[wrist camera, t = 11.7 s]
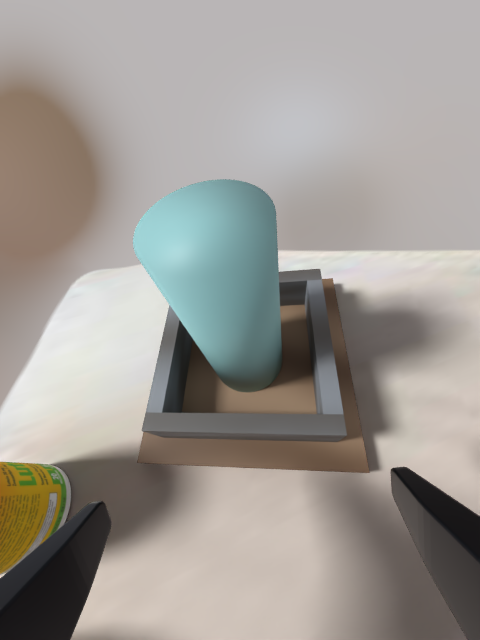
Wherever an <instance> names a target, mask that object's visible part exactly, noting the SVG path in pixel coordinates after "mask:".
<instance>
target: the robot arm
mask: <svg viewBox="0 0 480 640" xmlns="http://www.w3.org/2000/svg"><path fill="white" fill-rule="evenodd" d="M391 487H392V494H393V497H394V500H395V502H396V504H397V506H398V509H399V511H400V513H401V515H402V517H403V519H404V521H405V523H406V526H407V528H408V530H409V532H410V534H411V536H412V538H413V541H414V543H415V545H416V547H417V549H418V551H419V553H420V555H421V557H422V559H423V562H424V564H425V565H426V567H427V569H428V571H429V573H430V575H431V576H432V578H433V580H434V582H435V583H436V585H437V587H438V589H439V590H440V592H441V594H442V596H443V597H444V599H445V601H446V603H447V604H448V606H449V608H450V610H451V611H452V613H453V615H454V617H455V618H456V620H457V622H458V624H459V625H460V627H461V629H462V631H463V632H464V634H465V636H466V638H467V639H468V640H480V516H479V515H477V514H476V513H474V512H473V511H471V510H470V509H468V508H467V507H465V506H464V505H462V504H461V503H459V502H458V501H456V500H455V499H453V498H452V497H450V496H449V495H447V494H446V493H444V492H443V491H441V490H440V489H439V488H437V487H436V486H434V485H433V484H431V483H430V482H428V481H427V480H425V479H424V478H422V477H421V476H419V475H418V474H416V473H415V472H413V471H412V470H410V469H409V468H407V467H397V468H392V469H391ZM110 529H111V519H110V516H109V513H108V511H107V508H106V505H105V503H104V502H103V501H98V502H91V503H89V504H88V505H86V506H85V507H84V508H83V509H82V510H80V511H79V512H78V513H77V514H76V515H75V516H73V517H72V518H71V519H70V520H69V521H68V522H66V523H65V524H64V525H63V526H62V527H60V528H59V529H58V530H57V531H56V532H55V533H53V534H52V535H51V536H50V537H49V538H47V539H46V540H45V541H44V542H43V543H42V544H40V545H39V546H38V547H37V548H36V549H34V550H33V551H32V552H31V553H30V554H29V555H27V556H26V557H25V558H24V559H23V560H22V561H20V562H19V563H18V564H17V565H16V566H14V567H13V568H12V569H11V570H10V571H9V572H7V573H6V574H5V575H4V576H3V577H1V578H0V640H70V639H71V637H72V634H73V632H74V629H75V627H76V624H77V622H78V620H79V617H80V615H81V612H82V610H83V607H84V605H85V602H86V600H87V597H88V595H89V592H90V589H91V587H92V584H93V581H94V578H95V575H96V572H97V569H98V566H99V563H100V560H101V557H102V554H103V551H104V548H105V545H106V542H107V539H108V536H109V533H110Z"/></svg>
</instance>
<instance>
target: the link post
mask: <svg viewBox="0 0 480 640" xmlns="http://www.w3.org/2000/svg"><path fill="white" fill-rule="evenodd" d="M133 245H134V250H135V253H136V255H137V257H138V259H139V260H140V262H141V263H142V265H143V266H144V268H145V269H146V271H147V272H148V274H149V275H150V277H151V278H152V280H153V281H154V282H155V284H156V285H157V287H158V288H159V290H160V291H161V293H162V294H163V296H164V297H165V299H166V300H167V302H168V303H169V305H170V306H171V307H172V309H173V310H174V312H175V313H176V315H177V316H178V318H179V319H180V321H181V322H182V324H183V325H184V327H185V328H186V329H187V331H188V332H189V334H190V335H191V337H192V338H193V340H194V341H195V343H196V344H197V346H198V347H199V349H200V350H201V351H202V353H203V354H204V356H205V357H206V359H207V360H208V362H209V363H210V365H211V366H212V368H213V369H214V371H215V372H216V373H217V375H218V376H219V378H220V379H221V381H222V382H223V383H224V384H225V385H226V386H228V387H229V388H231V389H233V390H236V391H239V392H255V391H259V390H261V389H263V388H265V387H267V386H268V385H270V384H271V383H272V382H273V381H274V380H275V379H276V377H277V376H278V374H279V372H280V370H281V366H282V339H281V317H280V294H279V271H278V248H277V226H276V211H275V206H274V204H273V201H272V200H271V198H270V197H269V196H268V195H267V194H266V193H265V192H264V191H263V190H261V189H260V188H258V187H256V186H255V185H252V184H249V183H246V182H242V181H237V180H226V179H225V180H211V181H204V182H200V183H196V184H192V185H189V186H187V187H184V188H181V189H179V190H176V191H174V192H172V193H170V194H169V195H167V196H165V197H164V198H162V199H161V200H159V201H158V202H157V203H156V204H154V205H153V206H152V207H151V208H150V209H149V210H148V211H147V212H146V213H145V214H144V216H143V217H142V218H141V220H140V221H139V223H138V225H137V227H136V229H135V233H134V238H133Z"/></svg>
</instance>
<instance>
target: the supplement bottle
mask: <svg viewBox="0 0 480 640" xmlns="http://www.w3.org/2000/svg"><path fill="white" fill-rule="evenodd" d="M70 503H71V487H70V482H69V479H68V477H67V476H66V474H65V473H64V472H63V471H62V470H61V469H60V468H58V467H56V466H53V465H48V464H31V463H12V462H0V575H1V574H4V573H7V572H9V571H10V570H11V569H12V568H13V567H14V566H16V565H17V564H18V563H19V562H20V561H22V560H23V559H24V558H25V557H26V556H27V555H29V554H30V553H31V552H32V551H33V550H34V549H36V548H37V547H38V546H39V545H40V544H42V543H43V542H44V541H45V540H46V539H47V538H49V537H50V536H51V535H52V534H53V533H55V532H56V531H57V530H58V529H59V528H60V527H62V526H63V525H64V523H65V521H66V519H67V516H68V512H69V508H70Z"/></svg>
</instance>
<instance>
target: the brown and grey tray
mask: <svg viewBox="0 0 480 640" xmlns="http://www.w3.org/2000/svg"><path fill="white" fill-rule="evenodd" d="M279 294H280V317H281V339H282V366H281V370H280V372H279V374H278V376H277V377H276V379H275V380H274V381H273V382H272V383H271V384H270V385H268V386H267V387H265V388H263V389H261V390H259V391H255V392H239V391H236V390H233V389H231V388H229V387H228V386H226V385H225V384H224V383H223V382H222V381H221V379H220V378H219V376H218V375H217V373H216V372H215V371H214V369H213V368H212V366H211V365H210V363H209V362H208V360H207V359H206V357H205V356H204V354H203V353H202V351H201V350H200V349H199V347H198V346H197V344H196V343H195V341H194V340H193V338H192V337H191V335H190V334H189V332H188V331H187V329H186V328H185V327H184V325H183V324H182V322H181V321H180V319H179V318H178V316H177V315H176V313H175V312H174V310H173V309H172V307H171V306H170V305H169V310H168V314H167V319H166V323H165V328H164V332H163V337H162V341H161V346H160V351H159V355H158V360H157V364H156V369H155V373H154V378H153V382H152V387H151V391H150V396H149V400H148V405H147V409H146V414H145V418H144V423H143V427H142V431H143V432H144V433H143V437H142V442H141V446H140V451H139V456H138V460H137V463H148V464H171V465H195V466H218V467H241V468H264V469H288V470H311V471H334V472H357V473H370V472H369V467H368V462H367V457H366V451H365V446H364V441H363V436H362V430H361V425H360V420H359V415H358V409H357V404H356V399H355V394H354V388H353V383H352V378H351V373H350V367H349V362H348V357H347V352H346V346H345V341H344V336H343V331H342V325H341V320H340V315H339V310H338V304H337V299H336V294H335V289H334V283H333V278H332V279H322V278H321V272H320V269H311V270H298V271H285V272H279Z"/></svg>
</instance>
